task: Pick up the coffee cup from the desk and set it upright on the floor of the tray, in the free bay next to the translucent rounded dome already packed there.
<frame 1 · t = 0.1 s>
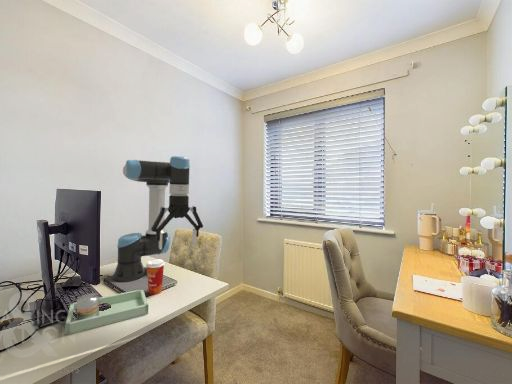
hand: (177, 246, 95), 28 cm above the table, fingers open, 13 cm apart
tray: (109, 315, 93), on the table
translucent rounded dome: (88, 317, 89), point 1 cm above the table, touching tray
coffee cup: (155, 292, 113), on the table
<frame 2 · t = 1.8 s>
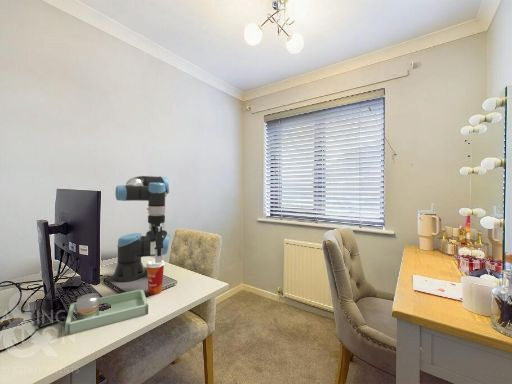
hand: (155, 258, 112), 17 cm above the table, fingers open, 13 cm apart
nothing on the table moved.
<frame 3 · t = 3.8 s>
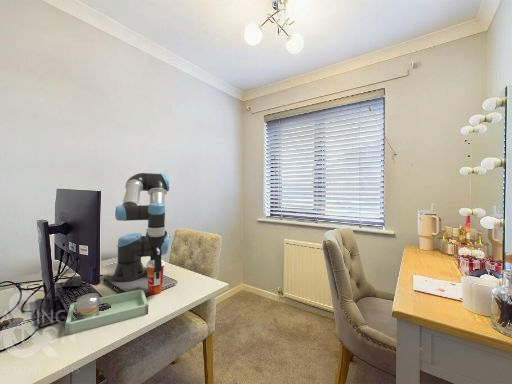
hand: (155, 281, 113), 5 cm above the table, fingers closed on coffee cup, 8 cm apart
coffee cup: (155, 292, 113), on the table, touching gripper
everything else where it was.
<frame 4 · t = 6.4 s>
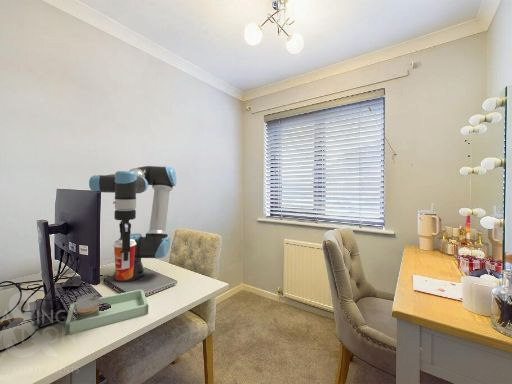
hand: (124, 264, 94), 20 cm above the table, fingers closed on coffee cup, 8 cm apart
coffee cup: (124, 277, 95), point 14 cm above the table, touching gripper
everything else where it was.
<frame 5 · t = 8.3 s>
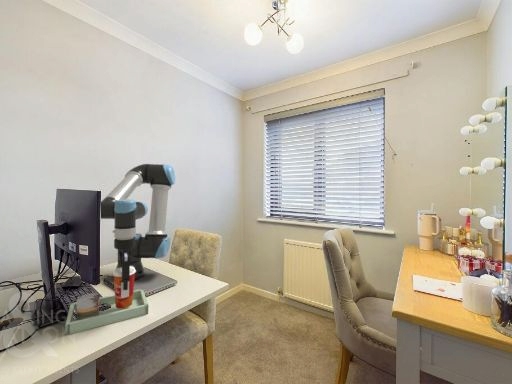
hand: (124, 292, 95), 8 cm above the table, fingers closed on coffee cup, 8 cm apart
coffee cup: (124, 305, 95), point 3 cm above the table, touching gripper
everything else where it was.
when the fingers open (7 cm above the table, at t = 9.4 s): coffee cup stays where it is, resting on tray.
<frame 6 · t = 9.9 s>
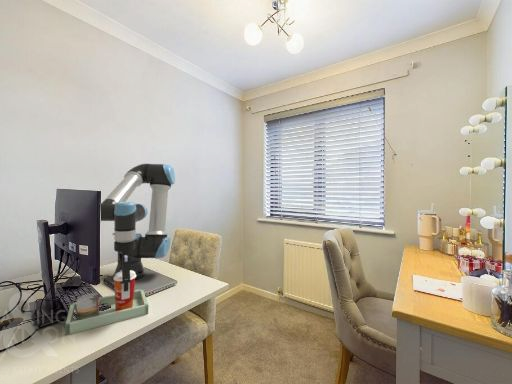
hand: (124, 291, 95), 9 cm above the table, fingers open, 13 cm apart
coffee cup: (124, 309, 95), point 1 cm above the table, touching tray
everything else where it was.
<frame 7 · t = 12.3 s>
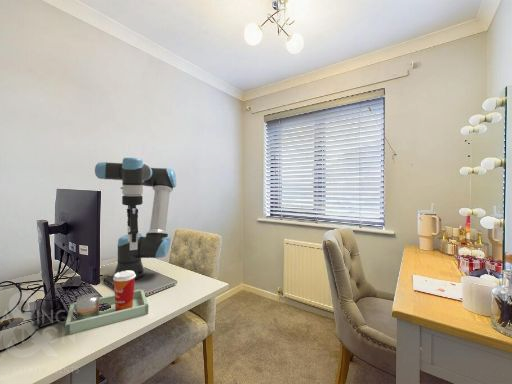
hand: (132, 245, 98), 27 cm above the table, fingers open, 13 cm apart
nothing on the table moved.
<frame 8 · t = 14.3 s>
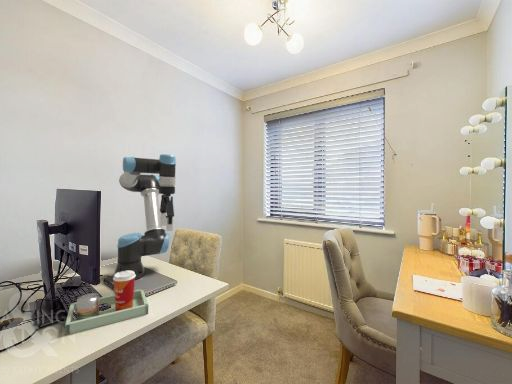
hand: (166, 228, 116), 31 cm above the table, fingers open, 13 cm apart
nothing on the table moved.
at the end: coffee cup inside the target area on the tray (0.0 cm from its centre), point 0.8 cm above the tray's base; coffee cup tilted 0°; translucent rounded dome moved 0.1 cm from its start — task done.
